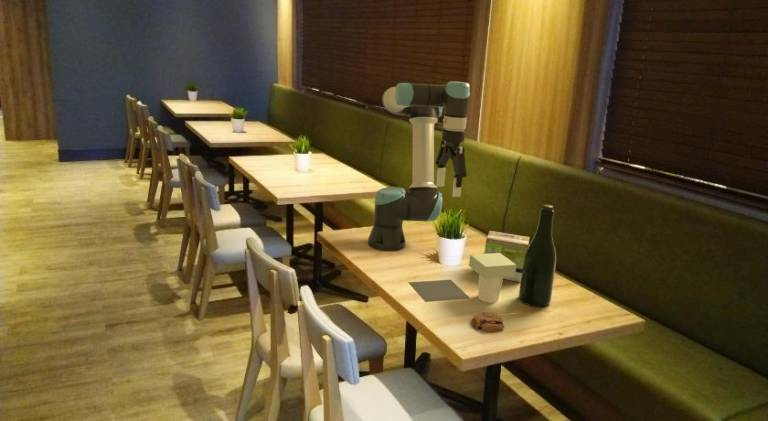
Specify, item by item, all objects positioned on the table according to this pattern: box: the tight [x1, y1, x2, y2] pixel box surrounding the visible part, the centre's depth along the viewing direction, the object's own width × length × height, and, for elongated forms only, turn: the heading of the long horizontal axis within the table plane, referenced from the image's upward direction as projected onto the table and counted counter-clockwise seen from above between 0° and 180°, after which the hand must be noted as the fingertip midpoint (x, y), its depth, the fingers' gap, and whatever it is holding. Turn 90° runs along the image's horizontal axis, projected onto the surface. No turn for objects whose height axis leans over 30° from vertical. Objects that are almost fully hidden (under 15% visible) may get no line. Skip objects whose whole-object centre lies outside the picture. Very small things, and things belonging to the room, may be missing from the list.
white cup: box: [477, 274, 504, 304], centre depth 201 cm, size 8×8×10 cm
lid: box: [468, 253, 516, 279], centre depth 199 cm, size 11×11×4 cm
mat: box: [407, 279, 471, 303], centre depth 206 cm, size 16×16×1 cm
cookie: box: [470, 311, 505, 333], centre depth 184 cm, size 10×11×3 cm
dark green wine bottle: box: [518, 204, 557, 308], centre depth 199 cm, size 10×10×33 cm
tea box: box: [483, 230, 530, 283], centre depth 222 cm, size 15×10×15 cm, turn 74°
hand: (447, 191), depth 209 cm, fingers open, 13 cm apart
